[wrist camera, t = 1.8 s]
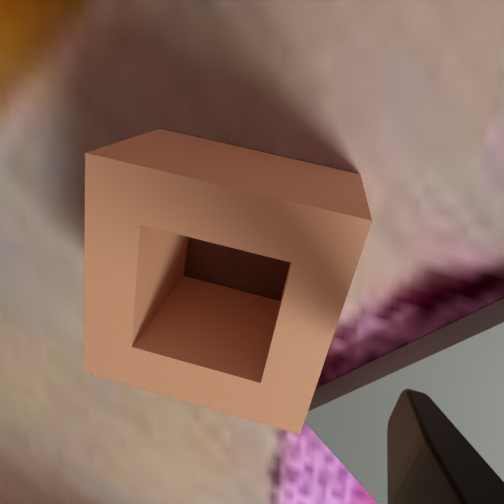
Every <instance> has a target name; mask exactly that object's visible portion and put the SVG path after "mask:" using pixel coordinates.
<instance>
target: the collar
mask: <svg viewBox="0 0 504 504" xmlns="http://www.w3.org/2000/svg"><path fill="white" fill-rule="evenodd" d="M371 222H372V219H371V215H370V211H369V207H368V203H367V199H366V195H365V191H364V187H363V183H362V179H361V175H360V174H357V173H353V172H348V171H344V170H339V169H335V168H331V167H326V166H322V165H317V164H313V163H309V162H304V161H300V160H295V159H291V158H287V157H282V156H278V155H273V154H269V153H265V152H260V151H256V150H251V149H247V148H243V147H238V146H234V145H229V144H225V143H221V142H216V141H212V140H208V139H203V138H199V137H194V136H190V135H186V134H181V133H177V132H172V131H168V130H164V129H157V130H154V131H151V132H148V133H144V134H141V135H138V136H135V137H132V138H129V139H126V140H123V141H120V142H117V143H114V144H111V145H108V146H104V147H101V148H98V149H95V150H92V151H89V152H86V153H85V248H84V372H85V373H89V374H92V375H96V376H99V377H103V378H106V379H110V380H113V381H117V382H120V383H124V384H127V385H131V386H134V387H137V388H141V389H144V390H148V391H151V392H155V393H158V394H162V395H165V396H169V397H172V398H176V399H179V400H183V401H186V402H190V403H193V404H196V405H200V406H203V407H207V408H210V409H214V410H217V411H221V412H224V413H228V414H231V415H235V416H238V417H242V418H245V419H248V420H252V421H255V422H259V423H262V424H266V425H269V426H273V427H276V428H280V429H283V430H287V431H290V432H294V433H297V434H300V433H301V430H302V427H303V424H304V421H305V418H306V415H307V412H308V409H309V406H310V403H311V400H312V398H313V395H314V392H315V389H316V386H317V383H318V380H319V377H320V374H321V371H322V368H323V365H324V362H325V359H326V356H327V353H328V350H329V347H330V344H331V341H332V338H333V335H334V332H335V329H336V326H337V323H338V320H339V317H340V314H341V311H342V308H343V305H344V302H345V299H346V296H347V293H348V290H349V287H350V285H351V282H352V279H353V276H354V273H355V270H356V267H357V264H358V261H359V258H360V255H361V252H362V249H363V246H364V243H365V240H366V237H367V234H368V231H369V228H370V225H371ZM189 237H191V238H195V239H199V240H203V241H207V242H211V243H215V244H219V245H223V246H227V247H231V248H235V249H239V250H243V251H247V252H251V253H255V254H259V255H263V256H267V257H271V258H275V259H279V260H283V261H287V262H290V265H289V269H288V273H287V277H286V281H285V284H284V288H283V292H282V296H281V300H280V301H278V300H274V299H271V298H267V297H263V296H259V295H255V294H251V293H247V292H244V291H240V290H236V289H232V288H228V287H224V286H221V285H217V284H213V283H209V282H205V281H201V280H197V279H194V278H190V277H186V276H184V271H185V263H186V255H187V247H188V239H189Z"/></svg>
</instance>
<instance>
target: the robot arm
mask: <svg viewBox="0 0 504 504" xmlns="http://www.w3.org/2000/svg"><path fill="white" fill-rule="evenodd" d="M387 500H388V504H504V481H503V480H502V479H501V478H500V477H499V476H498V475H497V473H496V472H495V471H494V470H493V469H492V468H491V467H490V465H489V464H488V463H487V462H486V461H485V460H484V459H483V457H482V456H481V455H480V454H479V453H478V452H477V451H476V449H475V448H474V447H473V446H472V445H471V444H470V443H469V442H468V440H467V439H466V438H465V437H464V436H463V435H462V434H461V432H460V431H459V430H458V429H457V428H456V427H455V426H454V424H453V423H452V422H451V421H450V420H449V419H448V418H447V416H446V415H445V414H444V413H443V412H442V411H441V410H440V408H439V407H438V406H437V405H436V404H435V403H434V402H433V400H432V399H431V398H430V397H429V396H428V395H427V394H425V393H422V392H418V391H415V390H411V389H405V390H403V391H402V392H401V394H400V396H399V398H398V401H397V403H396V405H395V407H394V409H393V411H392V414H391V416H390V418H389V421H388V427H387Z"/></svg>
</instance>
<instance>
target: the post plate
mask: <svg viewBox="0 0 504 504" xmlns="http://www.w3.org/2000/svg"><path fill="white" fill-rule="evenodd" d="M405 389H411V390H415V391H418V392H422V393H425V394H427V395H428V396H429V397H430V398H431V399H432V400H433V402H434V403H435V404H436V405H437V406H438V407H439V408H440V410H441V411H442V412H443V413H444V414H445V415H446V416H447V418H448V419H449V420H450V421H451V422H452V423H453V424H454V426H455V427H456V428H457V429H458V430H459V431H460V432H461V434H462V435H463V436H464V437H465V438H466V439H467V440H468V442H469V443H470V444H471V445H472V446H473V447H474V448H475V449H476V451H477V452H478V453H479V454H480V455H481V456H482V457H483V459H484V460H485V461H486V462H487V463H488V464H489V465H490V467H491V468H492V469H493V470H494V471H495V472H496V473H497V475H498V476H499V477H500V478H501V479H502V480H503V481H504V298H503V299H501V300H499V301H497V302H495V303H492V304H490V305H488V306H486V307H484V308H482V309H480V310H478V311H476V312H474V313H472V314H470V315H467V316H465V317H463V318H461V319H459V320H457V321H455V322H453V323H451V324H449V325H447V326H445V327H442V328H440V329H438V330H436V331H434V332H432V333H430V334H428V335H426V336H424V337H422V338H419V339H417V340H415V341H413V342H411V343H409V344H407V345H405V346H403V347H401V348H399V349H397V350H394V351H392V352H390V353H388V354H386V355H384V356H382V357H380V358H378V359H376V360H374V361H371V362H369V363H367V364H365V365H363V366H361V367H359V368H357V369H355V370H353V371H351V372H349V373H346V374H344V375H342V376H340V377H338V378H336V379H334V380H332V381H330V382H328V383H326V384H323V385H321V386H319V387H317V388H316V389H315V392H314V395H313V398H312V400H311V403H310V406H309V409H308V412H307V415H306V418H305V422H306V424H307V425H308V426H309V427H310V428H311V429H312V430H313V431H314V433H315V434H316V435H317V436H318V437H319V438H320V439H321V440H322V442H323V443H324V444H325V445H326V446H327V447H328V448H329V449H330V450H331V452H332V453H333V454H334V455H335V456H336V457H337V458H338V459H339V461H340V462H341V463H342V464H343V465H344V466H345V467H346V468H347V469H348V471H349V472H350V473H351V474H352V475H353V476H354V477H355V478H356V480H357V481H358V482H359V483H360V484H361V485H362V486H363V487H364V489H365V490H366V491H367V492H368V493H369V494H370V495H371V496H372V497H373V499H374V500H375V501H376V502H377V503H378V504H388V500H387V427H388V421H389V418H390V416H391V414H392V411H393V409H394V407H395V405H396V403H397V401H398V398H399V396H400V394H401V392H402V391H403V390H405Z"/></svg>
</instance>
